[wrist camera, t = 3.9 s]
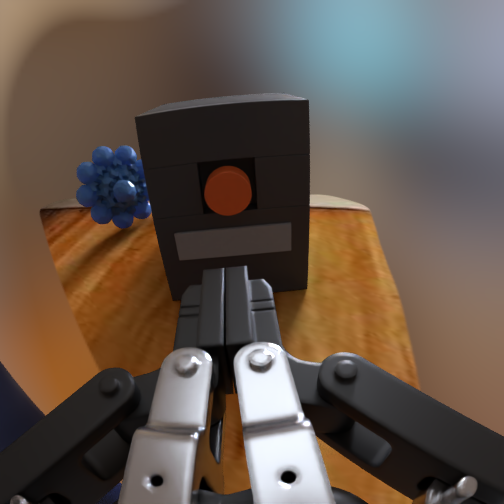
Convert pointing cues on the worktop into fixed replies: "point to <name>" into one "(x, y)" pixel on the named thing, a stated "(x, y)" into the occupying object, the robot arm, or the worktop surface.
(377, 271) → the worktop surface
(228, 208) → the power button
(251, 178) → the push button control box
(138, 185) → the grapes
